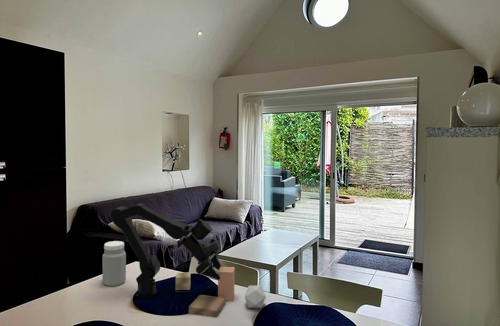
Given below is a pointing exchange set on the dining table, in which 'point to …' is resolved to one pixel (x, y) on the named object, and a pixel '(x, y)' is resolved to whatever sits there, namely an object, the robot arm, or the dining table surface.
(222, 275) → the pillar
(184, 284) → the oak cube
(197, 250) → the robot arm
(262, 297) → the die
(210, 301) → the slab
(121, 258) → the jar
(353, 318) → the dining table surface
